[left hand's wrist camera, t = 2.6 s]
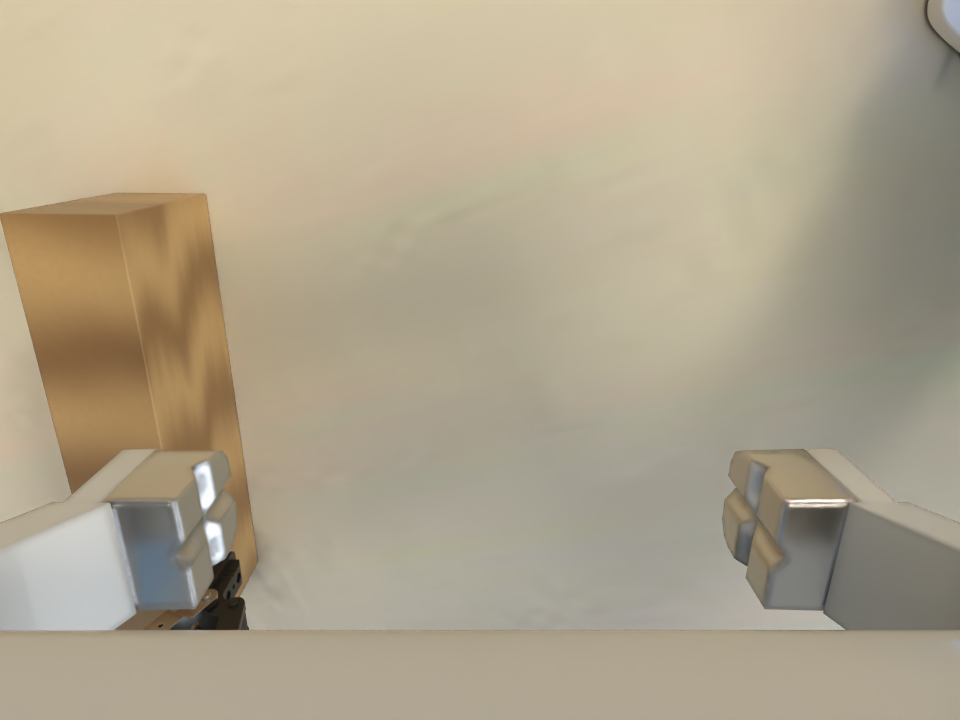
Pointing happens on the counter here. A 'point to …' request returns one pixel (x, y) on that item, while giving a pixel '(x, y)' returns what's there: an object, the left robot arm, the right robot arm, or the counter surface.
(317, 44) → the counter surface
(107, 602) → the left robot arm
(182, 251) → the bar
